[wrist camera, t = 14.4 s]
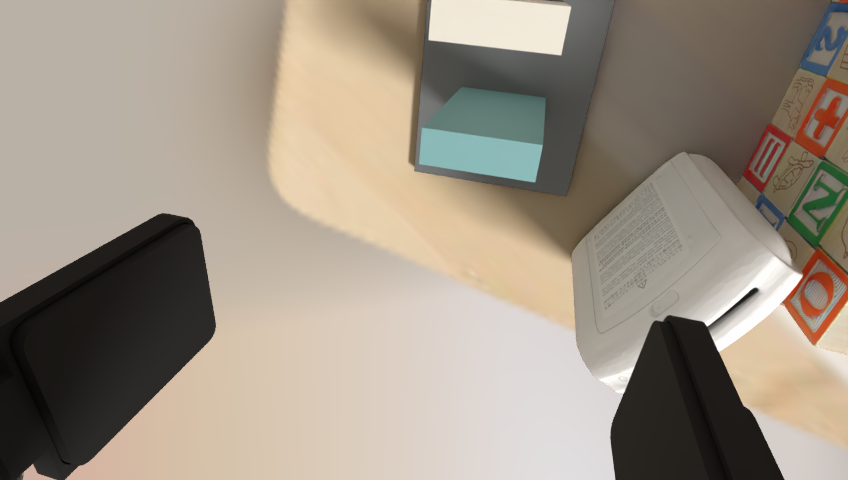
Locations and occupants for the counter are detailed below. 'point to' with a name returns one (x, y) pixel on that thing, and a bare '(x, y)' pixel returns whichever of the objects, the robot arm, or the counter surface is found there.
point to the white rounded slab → (675, 266)
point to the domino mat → (524, 89)
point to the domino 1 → (501, 24)
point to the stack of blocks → (811, 182)
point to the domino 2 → (486, 134)
